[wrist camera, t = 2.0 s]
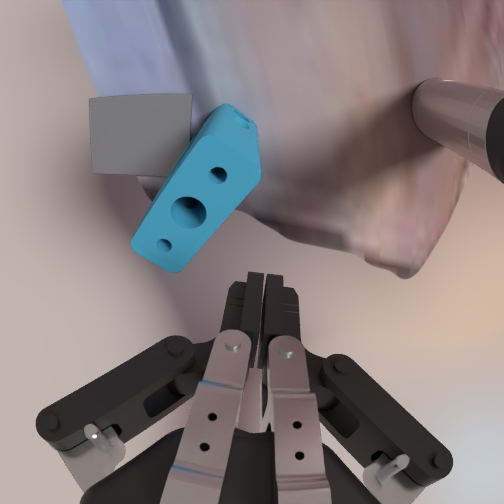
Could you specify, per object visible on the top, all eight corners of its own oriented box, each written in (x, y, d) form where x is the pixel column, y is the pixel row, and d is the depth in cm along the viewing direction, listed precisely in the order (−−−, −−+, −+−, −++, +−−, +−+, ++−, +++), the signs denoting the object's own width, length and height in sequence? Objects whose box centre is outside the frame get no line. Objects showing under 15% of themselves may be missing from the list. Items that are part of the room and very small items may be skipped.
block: (204, 181, 42) (176, 276, 26) (175, 161, 40) (127, 247, 24) (259, 115, 36) (267, 172, 20) (228, 93, 34) (207, 129, 18)
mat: (192, 93, 35) (191, 94, 34) (189, 177, 41) (188, 178, 41) (90, 98, 35) (88, 98, 35) (94, 172, 42) (93, 173, 41)
